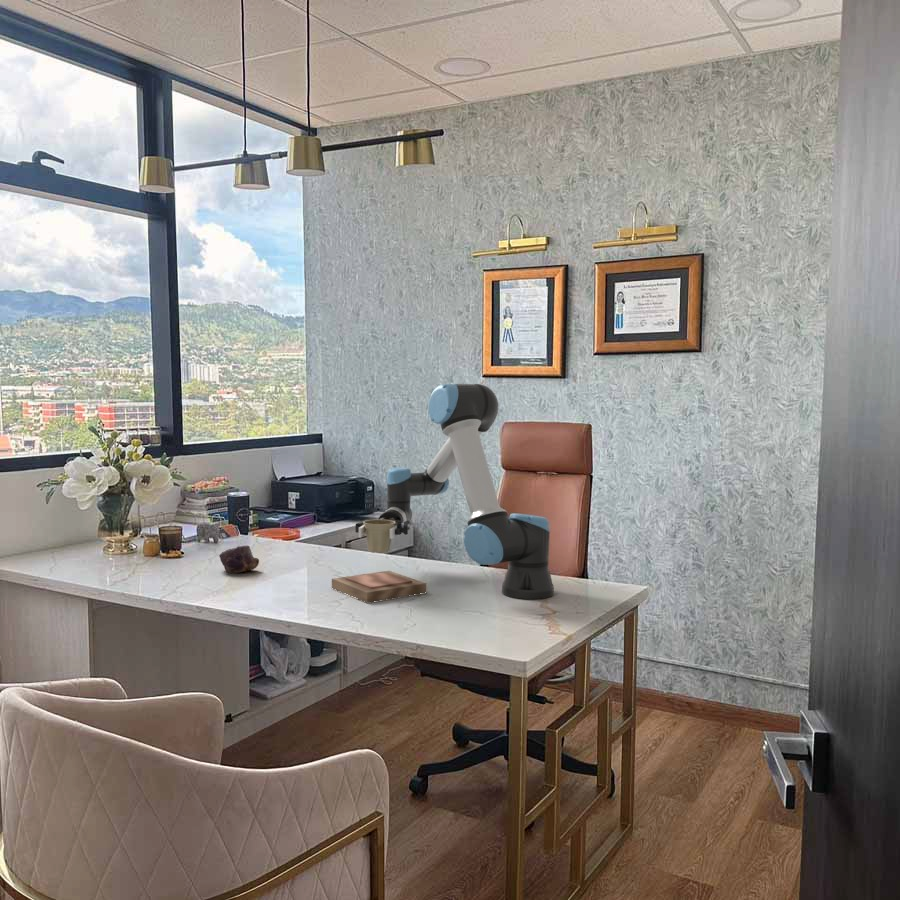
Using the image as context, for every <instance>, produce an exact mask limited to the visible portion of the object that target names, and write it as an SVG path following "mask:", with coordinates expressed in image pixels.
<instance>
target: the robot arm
mask: <svg viewBox="0 0 900 900" xmlns="http://www.w3.org/2000/svg"><path fill="white" fill-rule="evenodd" d="M429 397H430V398H429V400H428V406H427V409H428V414H429V415H428V416H429V418H430V420H431V421H432V422H433V423H435V424H436V425H440V428H441V431H442V434H443V435H445V436H446V437H448V438H447V439H446V441H445V442H444V444H443V445H442V446H441V448H440V449H439V450H438V452H437V453H436V455H435V456H434V457H433V459H432V460H431V462H430V463H429V464H428V466H427V468H426V469H425V470H424V471H423V472H412V471H411V469H410V468H409V467H391V468H388V470H387V475H386V476H387V478H386V486H387V488H386V490H387V491H386V492H387V496H386V497H387V499H386V510H384V512H382V513H381V514H379V517H378V518H377V519H376V520H391V521H395V522H396V523H395V524H394V527H392V528H391V529H390V539H391V540H393V539H394V538H395V537H397V536H398V535H399V536H401V535H402V534H403V535H408V534H409V533H408V531H409V530H410V529H411V521H412V519H413V511H412V509H411V498H412V497H418V496H430V495H431V496H436V495H440V494H444V493H446V492H447V491H448V489H449V487H448V486H449V484H450V480H449V477H450V476H451V475H452V474H453V472H454V470H455V469H456V468H457V469H458V470H457V471H458V473H459V476H460V477H459V478H460V481H461V485H462V489H463V492H464V496H465V499H466V502H467V506H468V510H469V513H470V516H469V518H468V520H467V522H466V523H467V528H465V530H464V533H463V535H464V537H463V546H464V548H465V551H466V553H467V554H468V555H467V556H468V557H469V558H470V559H471V560H472V561H473V562H476V564H478V565H483V566H484V565H487V566H488V565H489V566H490V565H491V566H492V565H493V566H495V565H497V564H501V563H508V566H507V570H506V573H505V576H504V580H503V582H502V585H501V593H502V594H503V595H504V596H506V597H510V598H515V599H524V600H540V599H548V598H551V597H553V596H554V595H555V594H554V593H555V586H554V583H553V582H552V581H553V580H552V576H551V575H552V574H551V572H550V569H549V556H550V555H549V554H550V533H551V531H550V521H549V519H548V518H547V517H545V516H540V515H536V514H535V515H534V514H527V513H526V514H525V513H518V512H517V513H515V512H514V513H510V515H509V514H508V511H507V510H505V509H504V508H502V507H501V506H500V504H499V499H498V496H497V492H496V489H495V485H494V482H493V479H492V475H491V471H490V468H489V464H488V461H487V457H486V454H485V449H484V448H483V447H484V446H483V443H482V440H481V435H482V433H486V432H488V431H489V430H490V429H491V427H492V426H493V425H494V423H495V421H496V419H497V417H498V413H499V402H498V401H499V400H498V398H497V396H496V393H495V392H494V391H493V390H492V389H491V388H490V387H488V386H486V385H484V384H481V383H469V384H468V383H453V382H451V383H442V384H439V385H437V386H436V387H435V388H434V390H432V393H431V394H430V396H429ZM366 520H371V519H370V518H367V519H365V520H362V521H360V522H356V523H355V529H354V530H355V533H356V534H357V533H358V538H363V537H364V536H366V528H365V525H364V523H363V521H366Z"/></svg>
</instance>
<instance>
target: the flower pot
mask: <svg viewBox="0 0 900 900" xmlns="http://www.w3.org/2000/svg"><path fill="white" fill-rule="evenodd" d="M365 520H366V519H365ZM365 520H362V521H363V523H364V525H365V528H366V534H365V536H366V543H367V551H368V552H370V553H377V554H382V553H388V552H390V549H391V543H392V539H390V529H391V528H392V527H394V524H395V523H396V522H395V521H391V520H377V519H370V520H366V521H365Z"/></svg>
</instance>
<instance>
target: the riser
mask: <svg viewBox="0 0 900 900" xmlns="http://www.w3.org/2000/svg"><path fill="white" fill-rule="evenodd" d="M332 588H333V589H332ZM331 589H332V590H334V589H336V590H338V591H341V592H343V593H346V594H348V595H350V596H349V597H351V596H353V597H356V598H358V599H360V600H362V601H361V602H363V601H365V602H371V603H375V602H374V601H378V602H381V601H380V600H384V601H387V600H386V599H390V600H393V599H392V598H396V599H399V598H398V597H402V598H405V597H404V596H408V597H410V596H409V595H414V594H420V593H425V592H426V593H427V582H424V581H421V580H418V579H415V578H412V577H410V576H406V575H404V574H400V573H397V572H395V571H391V570H383V571H378V572H377V571H376V572H370V573H363V574H355V575H349V576H342V577H333V578H331ZM336 590H335V591H336ZM338 591H337V592H338ZM341 592H340V593H341ZM343 593H342V594H343ZM346 594H345V595H346ZM348 595H347V596H348ZM420 595H421V594H420ZM414 596H415V595H414ZM353 597H352V598H353ZM358 599H357V600H358ZM360 600H359V601H360ZM365 602H364V603H365Z"/></svg>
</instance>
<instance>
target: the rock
mask: <svg viewBox="0 0 900 900" xmlns="http://www.w3.org/2000/svg"><path fill="white" fill-rule="evenodd" d="M218 556H219V559H220V562H221V563H222V566H223V567H224V570H225V571H226V572H228V573H230V574H231V573H232V574H233V573H234V574H237V573H239V574H240V573H243V572H251V571H253V570H255V569H256V568H257V567H258V566H259V563H260V559H259V558H257V557H254V555H253V552H252V549H251V547H250V545H237V547H233V548H228V549H226V550H225V551H222V552H221V553H220V554H219V555H218Z"/></svg>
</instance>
